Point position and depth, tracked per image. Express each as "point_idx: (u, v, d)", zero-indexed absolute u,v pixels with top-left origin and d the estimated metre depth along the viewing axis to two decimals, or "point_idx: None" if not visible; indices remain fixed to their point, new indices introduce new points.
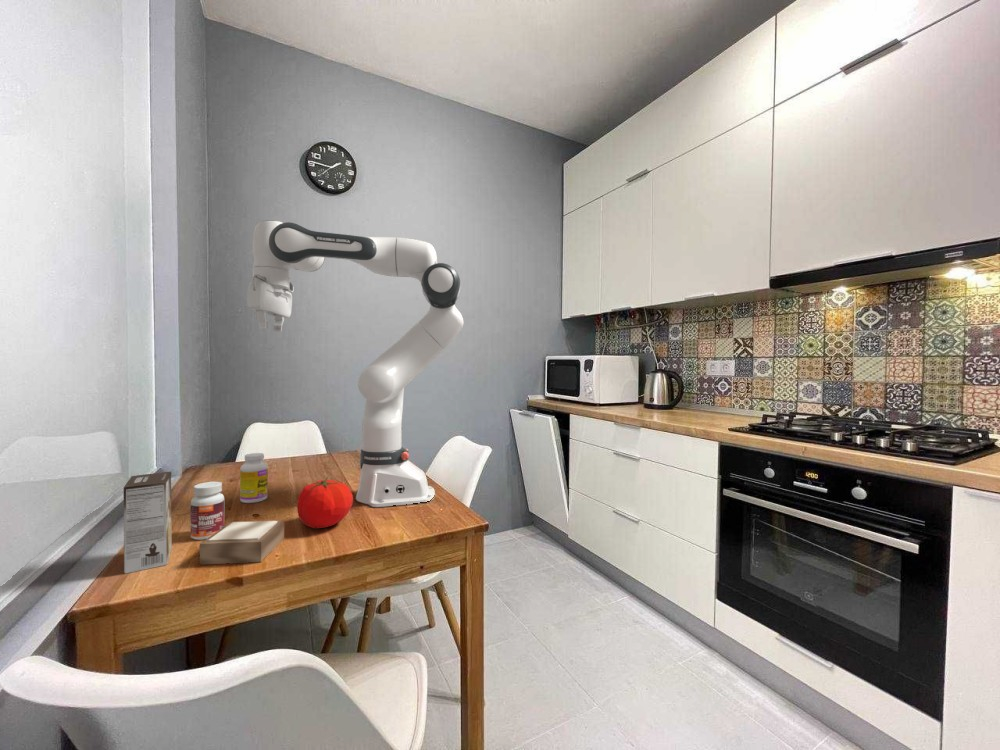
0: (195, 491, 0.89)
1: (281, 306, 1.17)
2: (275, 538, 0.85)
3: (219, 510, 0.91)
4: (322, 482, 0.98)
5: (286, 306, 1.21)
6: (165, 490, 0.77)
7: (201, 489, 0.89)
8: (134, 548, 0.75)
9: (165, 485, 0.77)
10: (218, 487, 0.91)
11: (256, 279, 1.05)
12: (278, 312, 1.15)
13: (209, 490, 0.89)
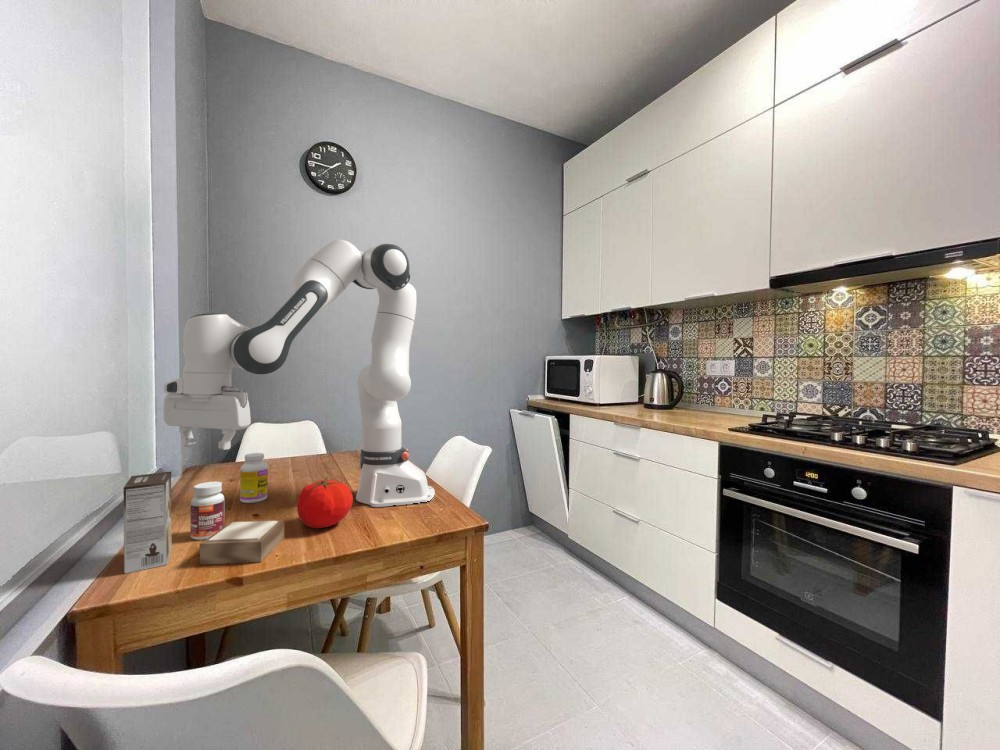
0: (195, 491, 0.89)
1: None
2: (275, 538, 0.85)
3: (219, 510, 0.91)
4: (322, 482, 0.98)
5: None
6: (165, 490, 0.77)
7: (201, 489, 0.89)
8: (134, 548, 0.75)
9: (165, 485, 0.77)
10: (218, 487, 0.91)
11: None
12: None
13: (209, 490, 0.89)
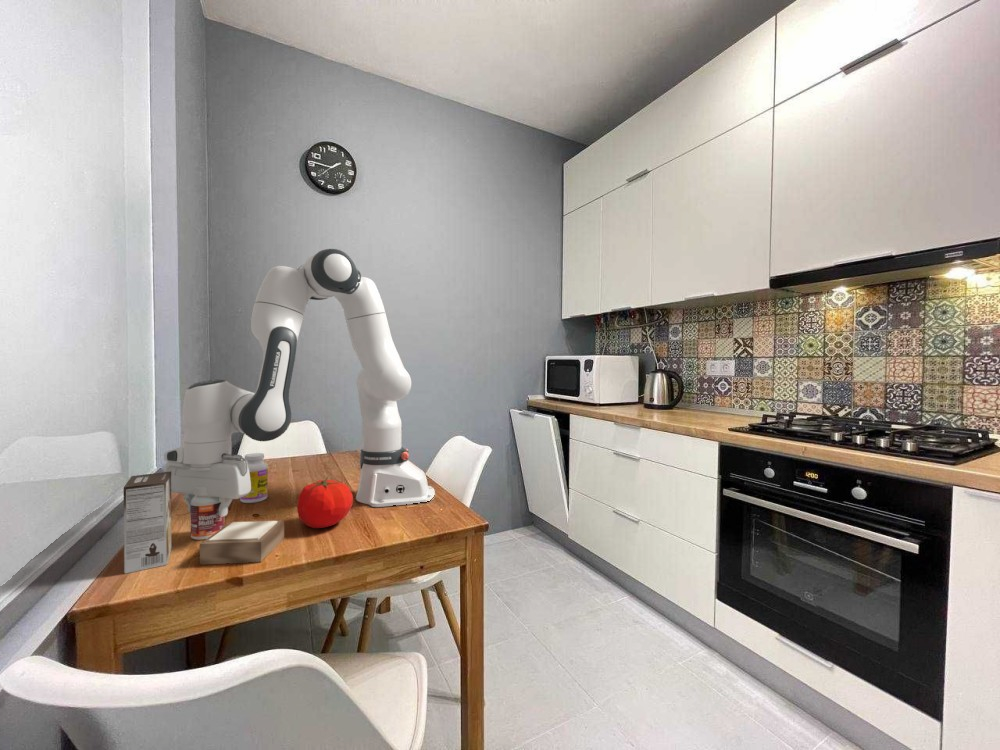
0: (195, 491, 0.89)
1: None
2: (275, 538, 0.85)
3: None
4: (322, 482, 0.98)
5: None
6: (165, 490, 0.77)
7: (201, 489, 0.89)
8: (134, 548, 0.75)
9: (165, 485, 0.77)
10: None
11: None
12: None
13: None
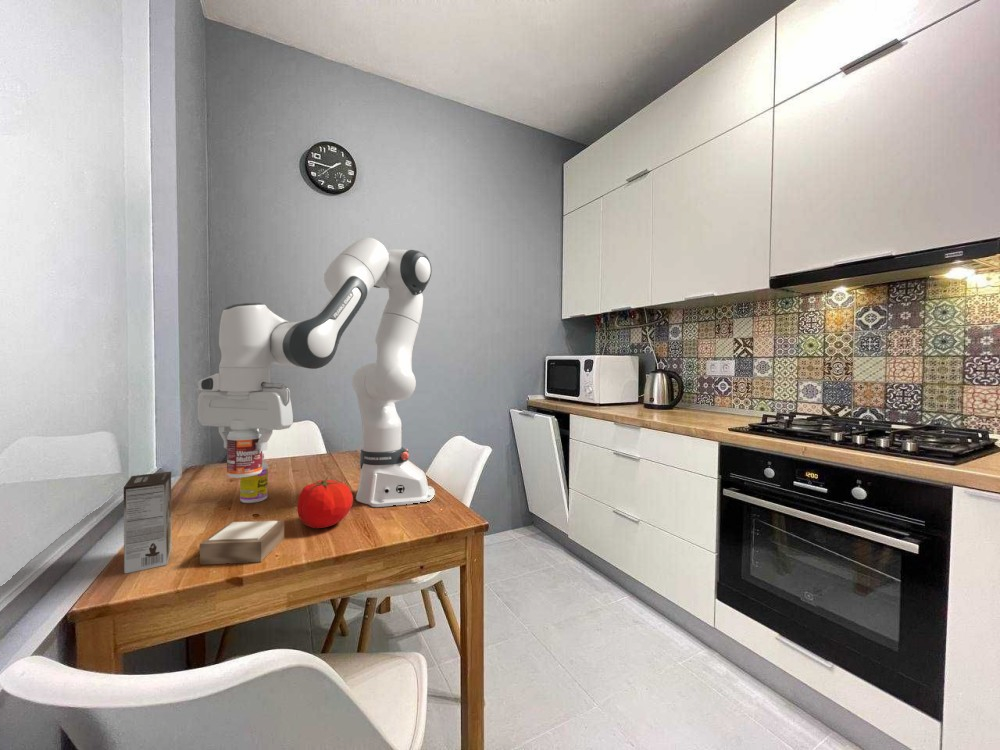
0: (232, 424, 0.81)
1: None
2: (275, 538, 0.85)
3: None
4: (322, 482, 0.98)
5: None
6: (165, 490, 0.77)
7: (239, 422, 0.81)
8: (134, 548, 0.75)
9: (165, 485, 0.77)
10: None
11: None
12: None
13: None
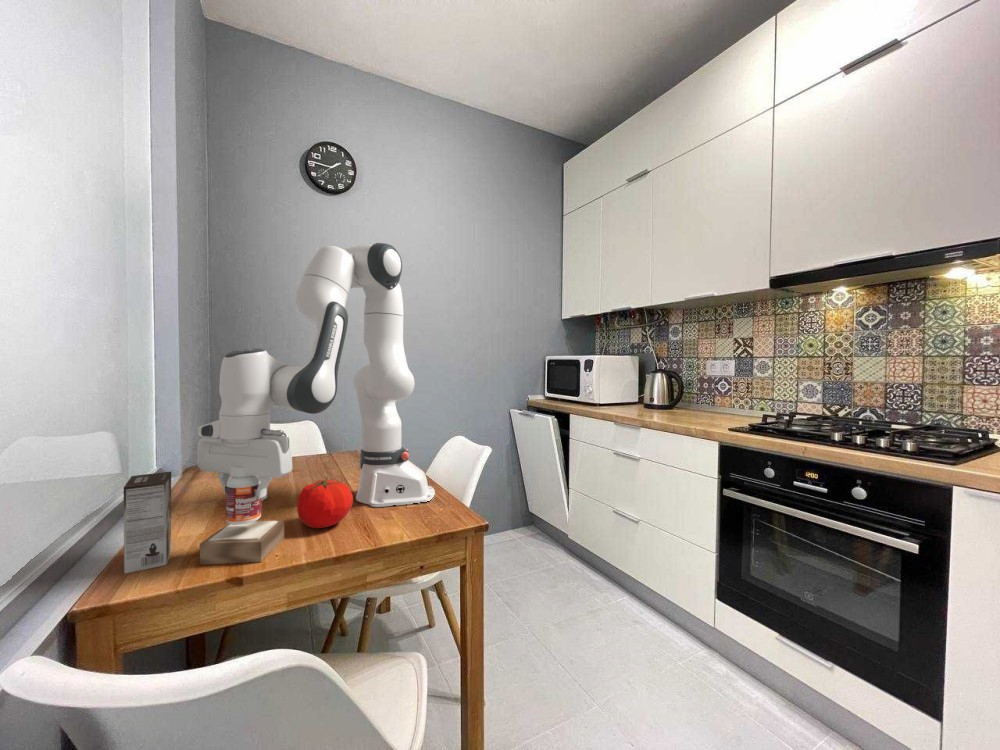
0: (232, 471, 0.81)
1: None
2: (275, 538, 0.85)
3: None
4: (322, 482, 0.98)
5: None
6: (165, 490, 0.77)
7: (238, 469, 0.81)
8: (134, 548, 0.75)
9: (165, 485, 0.77)
10: None
11: None
12: None
13: None
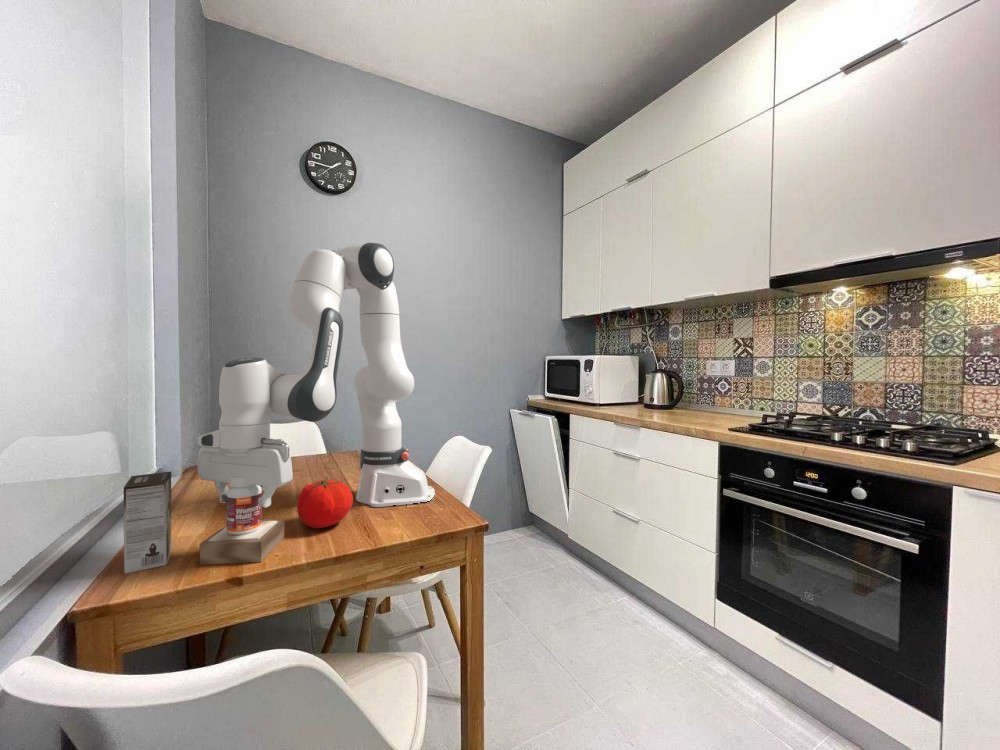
0: (232, 482, 0.81)
1: None
2: (275, 538, 0.85)
3: (257, 503, 0.83)
4: (322, 482, 0.98)
5: None
6: (165, 490, 0.77)
7: (238, 479, 0.81)
8: (134, 548, 0.75)
9: (165, 485, 0.77)
10: None
11: None
12: None
13: None
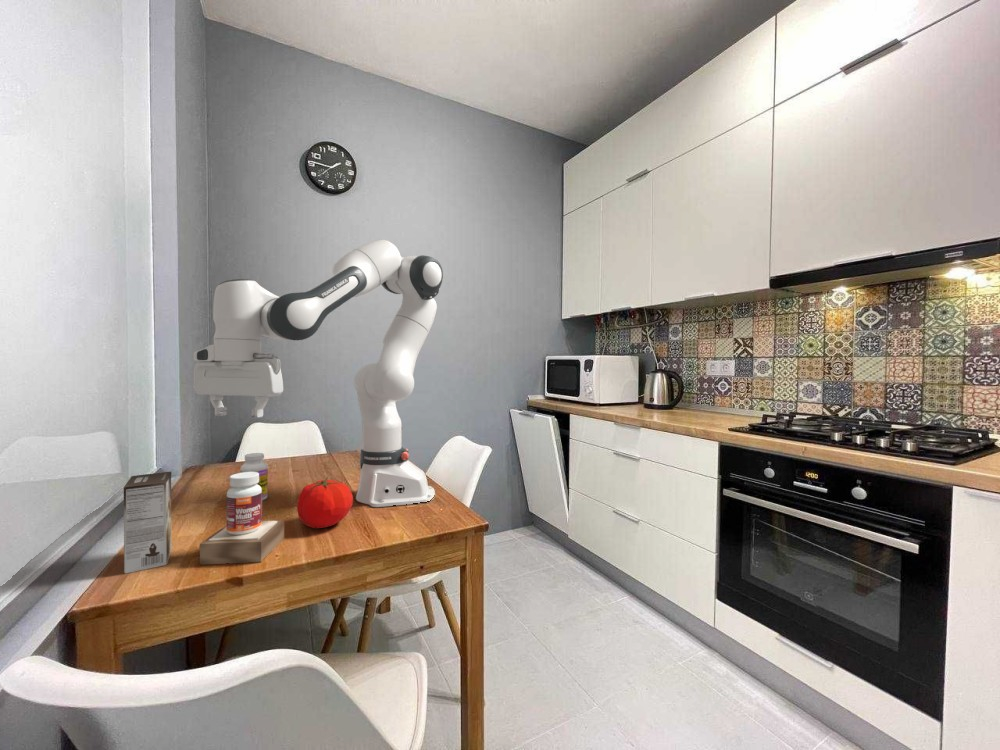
0: (232, 482, 0.81)
1: None
2: (275, 538, 0.85)
3: (257, 503, 0.83)
4: (322, 482, 0.98)
5: None
6: (165, 490, 0.77)
7: (238, 479, 0.81)
8: (134, 548, 0.75)
9: (165, 485, 0.77)
10: (256, 477, 0.84)
11: None
12: None
13: (247, 481, 0.82)
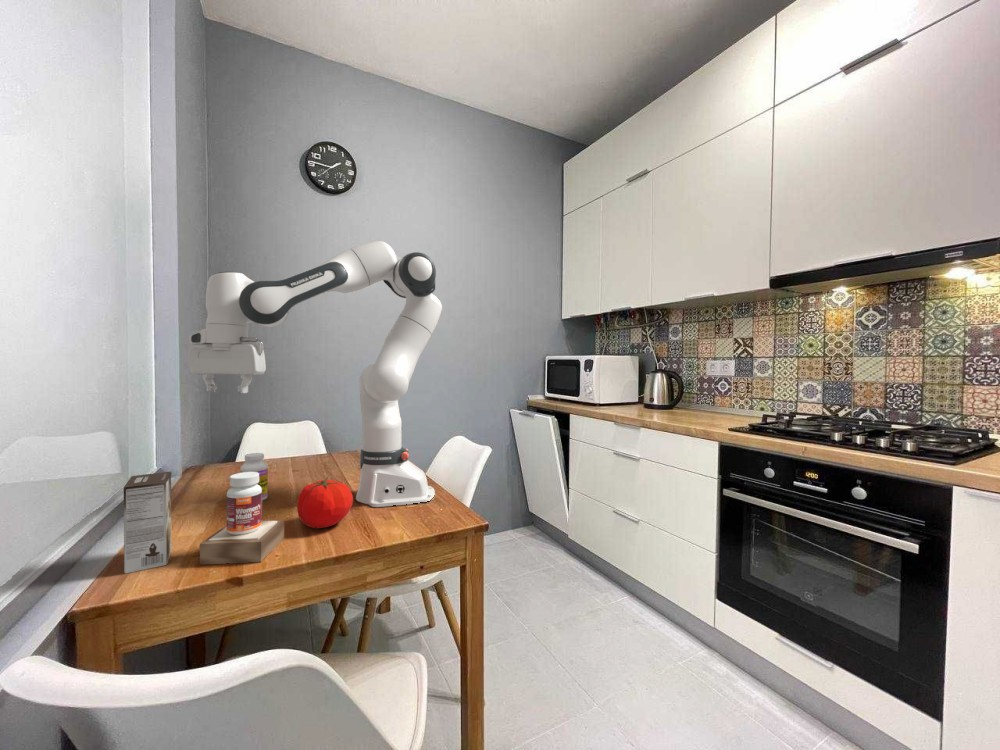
0: (232, 482, 0.81)
1: None
2: (275, 538, 0.85)
3: (257, 503, 0.83)
4: (322, 482, 0.98)
5: None
6: (165, 490, 0.77)
7: (238, 479, 0.81)
8: (134, 548, 0.75)
9: (165, 485, 0.77)
10: (256, 477, 0.84)
11: None
12: None
13: (247, 481, 0.82)
